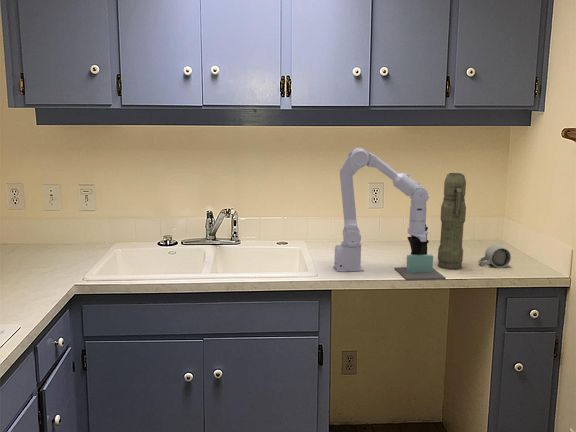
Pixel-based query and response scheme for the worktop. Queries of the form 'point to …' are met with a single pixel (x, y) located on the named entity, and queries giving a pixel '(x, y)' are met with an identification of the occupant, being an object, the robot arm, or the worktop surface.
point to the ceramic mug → (496, 257)
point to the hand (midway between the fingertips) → (415, 256)
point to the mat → (419, 274)
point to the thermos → (452, 222)
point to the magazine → (424, 245)
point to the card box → (419, 263)
